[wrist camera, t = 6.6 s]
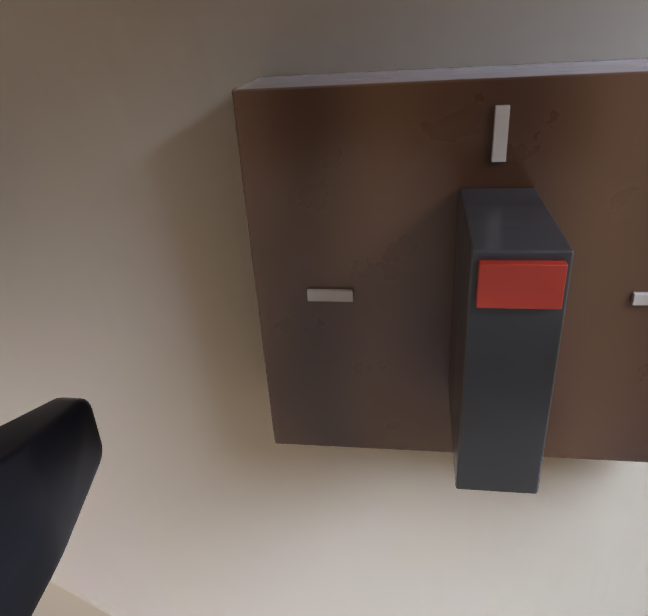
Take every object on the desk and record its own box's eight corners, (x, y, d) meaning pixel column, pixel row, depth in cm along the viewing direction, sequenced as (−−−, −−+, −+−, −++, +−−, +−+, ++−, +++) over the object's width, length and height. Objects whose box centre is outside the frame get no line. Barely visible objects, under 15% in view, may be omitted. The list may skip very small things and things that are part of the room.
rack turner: (512, 389, 18) (540, 502, 14) (448, 386, 19) (455, 496, 15) (535, 187, 16) (578, 255, 11) (458, 187, 16) (472, 254, 12)
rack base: (291, 394, 24) (273, 446, 21) (258, 76, 18) (228, 90, 15) (664, 408, 21) (701, 469, 19) (756, 52, 16) (826, 63, 13)
